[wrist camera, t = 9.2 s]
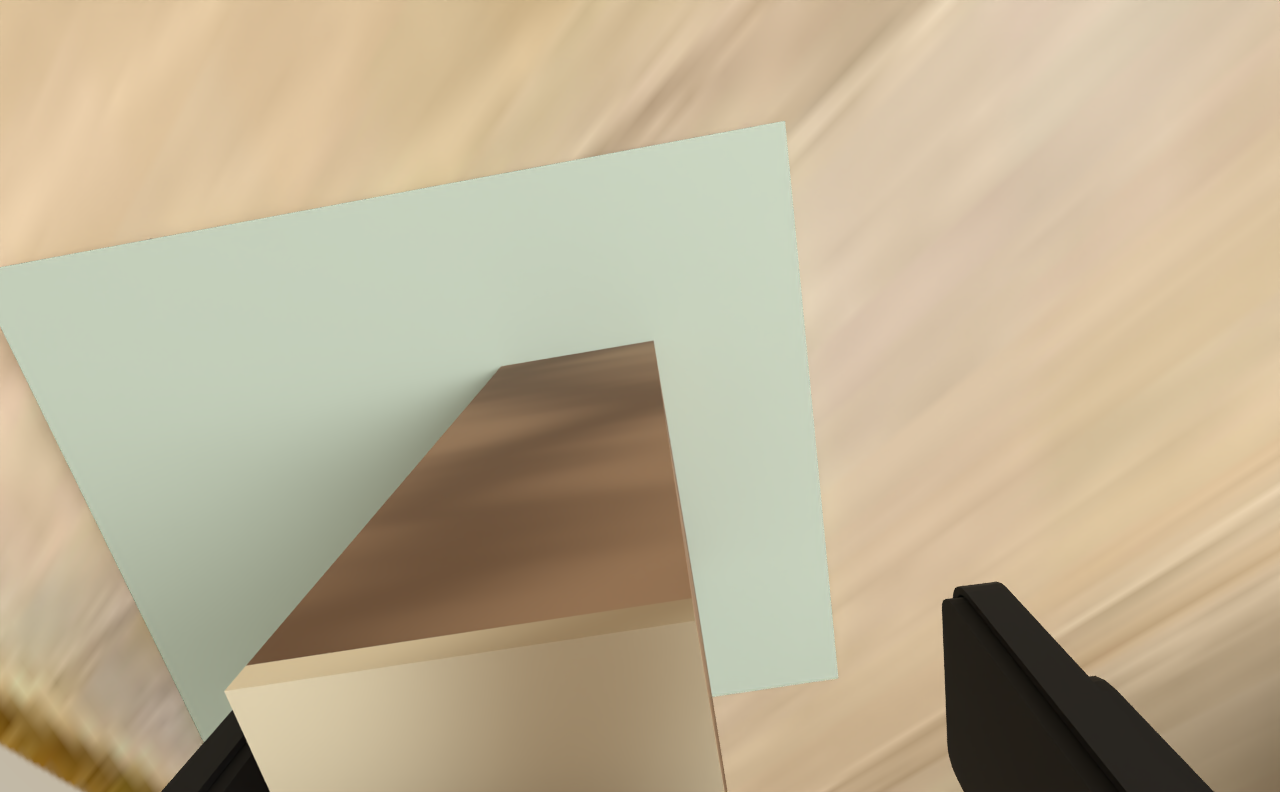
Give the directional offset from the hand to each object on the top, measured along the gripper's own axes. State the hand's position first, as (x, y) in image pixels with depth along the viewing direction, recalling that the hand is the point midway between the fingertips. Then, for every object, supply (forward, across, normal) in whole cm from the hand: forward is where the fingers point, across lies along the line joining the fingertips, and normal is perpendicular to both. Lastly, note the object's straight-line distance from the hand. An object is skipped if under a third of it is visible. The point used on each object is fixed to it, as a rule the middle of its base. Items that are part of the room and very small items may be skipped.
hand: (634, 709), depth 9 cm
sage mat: (+8, +5, 0) cm, 10 cm away
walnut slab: (+8, +1, 0) cm, 8 cm away
